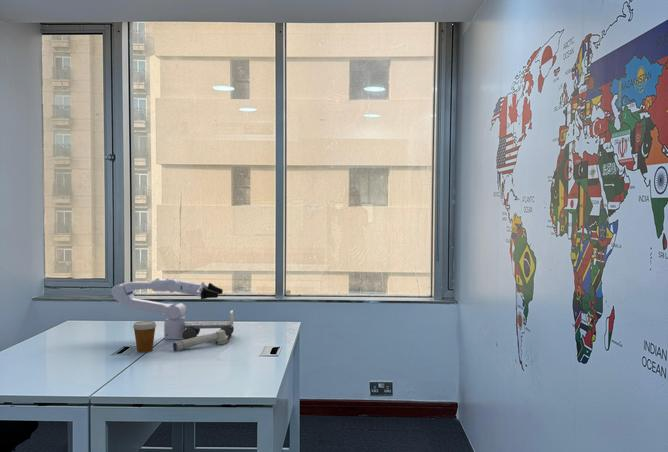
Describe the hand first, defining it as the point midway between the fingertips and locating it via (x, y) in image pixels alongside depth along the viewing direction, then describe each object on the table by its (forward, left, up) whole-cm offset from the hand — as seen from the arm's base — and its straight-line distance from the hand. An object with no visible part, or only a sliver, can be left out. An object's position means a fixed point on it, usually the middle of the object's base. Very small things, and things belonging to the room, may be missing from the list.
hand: (220, 293), depth 266 cm
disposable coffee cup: (-29, -22, -21) cm, 42 cm away
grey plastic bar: (-6, -16, -22) cm, 28 cm away
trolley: (-5, 0, -21) cm, 22 cm away
